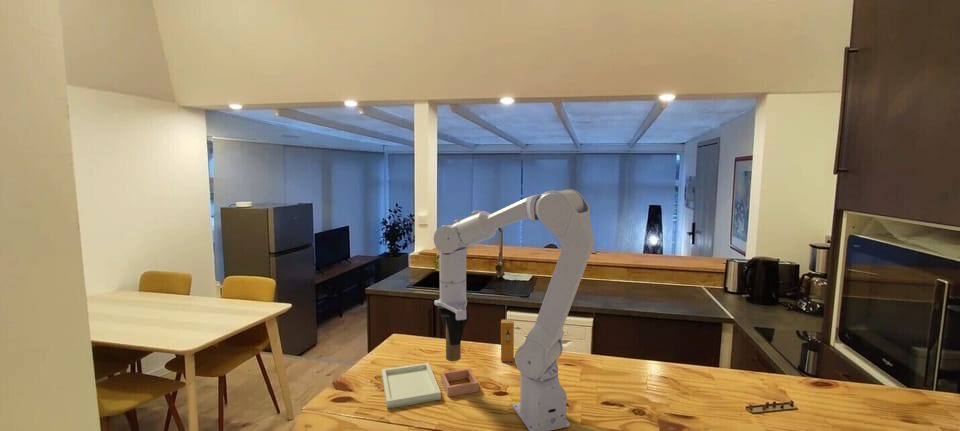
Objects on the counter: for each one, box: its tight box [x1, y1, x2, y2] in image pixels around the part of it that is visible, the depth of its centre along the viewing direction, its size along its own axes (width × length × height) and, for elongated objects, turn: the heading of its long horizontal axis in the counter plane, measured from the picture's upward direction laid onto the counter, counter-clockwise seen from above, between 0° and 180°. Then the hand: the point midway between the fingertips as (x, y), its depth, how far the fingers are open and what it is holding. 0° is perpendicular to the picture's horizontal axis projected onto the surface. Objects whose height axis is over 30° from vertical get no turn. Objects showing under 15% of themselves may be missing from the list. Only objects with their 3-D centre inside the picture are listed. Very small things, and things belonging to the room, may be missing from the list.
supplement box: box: [500, 319, 515, 363], centre depth 102 cm, size 3×3×10 cm
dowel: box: [445, 325, 462, 362], centre depth 88 cm, size 3×3×9 cm
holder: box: [440, 368, 480, 398], centre depth 89 cm, size 7×7×2 cm
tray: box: [381, 362, 442, 410], centre depth 89 cm, size 14×11×2 cm
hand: (453, 340), depth 88 cm, fingers closed on dowel, 3 cm apart
